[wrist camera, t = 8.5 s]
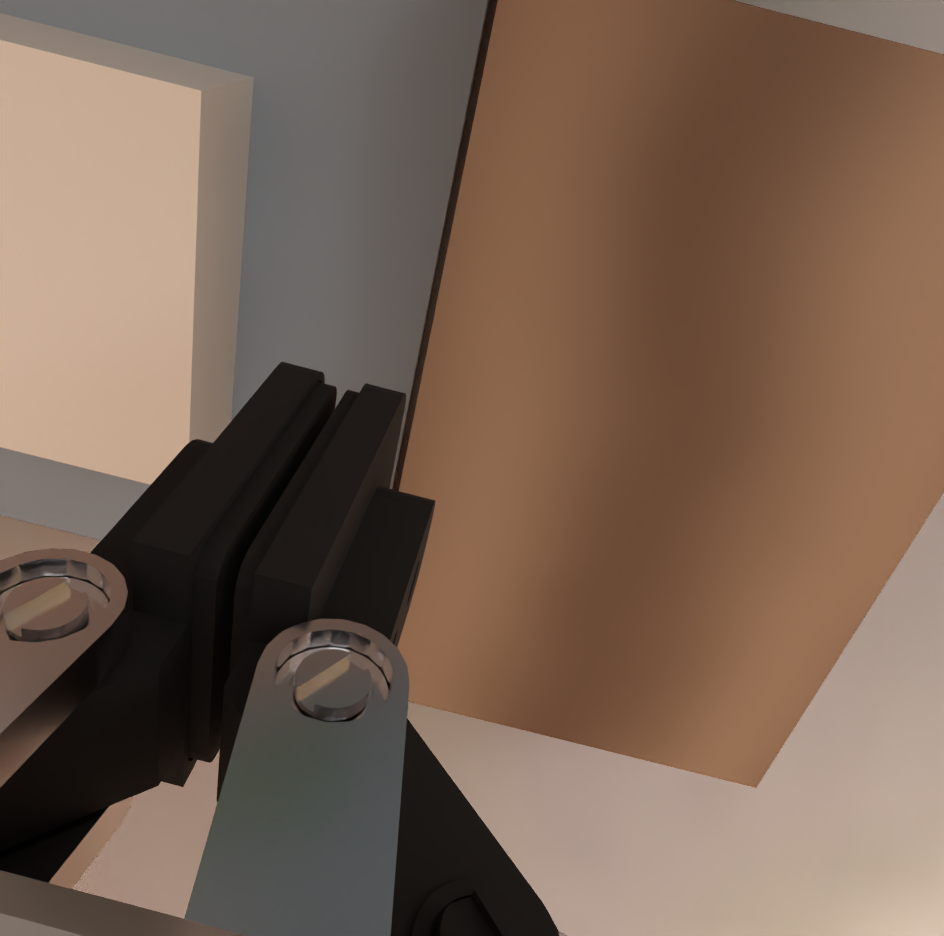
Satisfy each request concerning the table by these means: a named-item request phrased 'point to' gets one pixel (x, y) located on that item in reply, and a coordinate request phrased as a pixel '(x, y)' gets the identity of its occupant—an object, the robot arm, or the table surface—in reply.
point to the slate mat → (303, 193)
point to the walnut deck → (677, 374)
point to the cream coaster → (117, 248)
